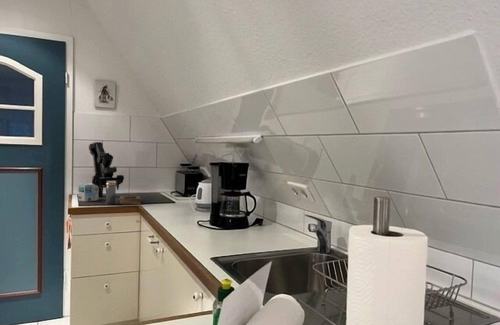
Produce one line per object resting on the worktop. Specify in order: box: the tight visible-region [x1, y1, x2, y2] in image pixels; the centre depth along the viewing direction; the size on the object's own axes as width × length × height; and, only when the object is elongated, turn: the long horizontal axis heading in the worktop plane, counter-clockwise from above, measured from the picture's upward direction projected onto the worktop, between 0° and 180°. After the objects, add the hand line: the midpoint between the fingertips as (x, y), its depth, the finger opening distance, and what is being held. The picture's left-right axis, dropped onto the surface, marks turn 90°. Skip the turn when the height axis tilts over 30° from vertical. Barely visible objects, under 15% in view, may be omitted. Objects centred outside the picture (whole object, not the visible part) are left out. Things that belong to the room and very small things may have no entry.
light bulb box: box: [78, 182, 99, 202], centre depth 248 cm, size 11×7×11 cm, turn 148°
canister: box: [105, 182, 117, 206], centre depth 238 cm, size 6×6×13 cm
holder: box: [119, 195, 142, 205], centre depth 247 cm, size 12×12×3 cm
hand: (110, 189), depth 239 cm, fingers open, 9 cm apart
